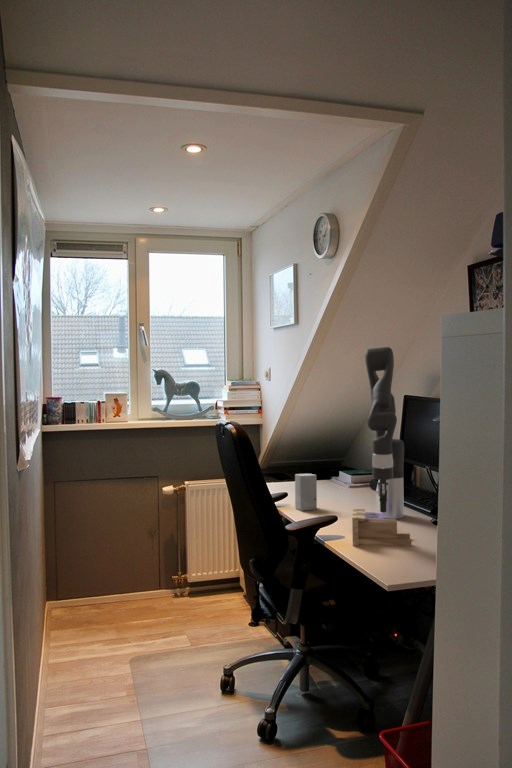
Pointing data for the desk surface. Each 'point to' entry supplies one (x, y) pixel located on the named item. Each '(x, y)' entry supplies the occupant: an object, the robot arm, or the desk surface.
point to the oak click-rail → (401, 538)
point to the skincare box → (305, 492)
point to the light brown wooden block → (378, 528)
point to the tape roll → (374, 515)
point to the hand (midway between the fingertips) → (383, 511)
